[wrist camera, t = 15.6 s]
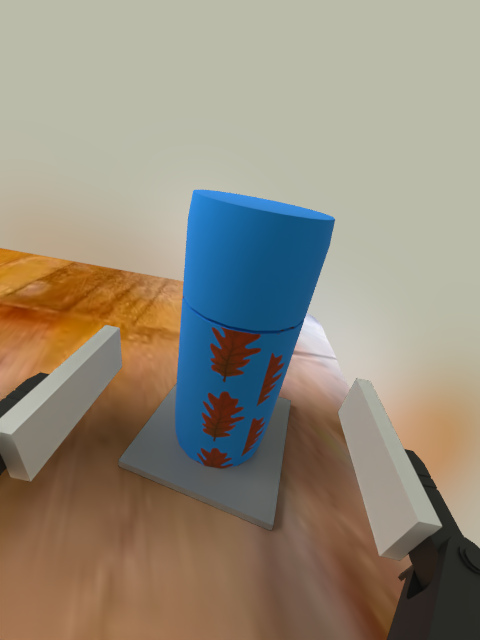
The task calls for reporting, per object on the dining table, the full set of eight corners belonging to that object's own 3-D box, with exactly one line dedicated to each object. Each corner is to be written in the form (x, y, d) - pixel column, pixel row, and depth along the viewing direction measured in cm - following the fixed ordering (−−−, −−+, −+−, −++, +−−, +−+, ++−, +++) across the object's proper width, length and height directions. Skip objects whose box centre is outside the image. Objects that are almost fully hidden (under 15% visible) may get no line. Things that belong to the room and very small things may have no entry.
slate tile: (118, 466, 26) (118, 460, 25) (188, 371, 40) (189, 366, 39) (270, 530, 23) (273, 525, 23) (289, 405, 37) (290, 400, 37)
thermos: (195, 383, 36) (218, 189, 24) (268, 406, 35) (331, 212, 23) (155, 450, 27) (160, 189, 15) (253, 485, 26) (346, 229, 13)
